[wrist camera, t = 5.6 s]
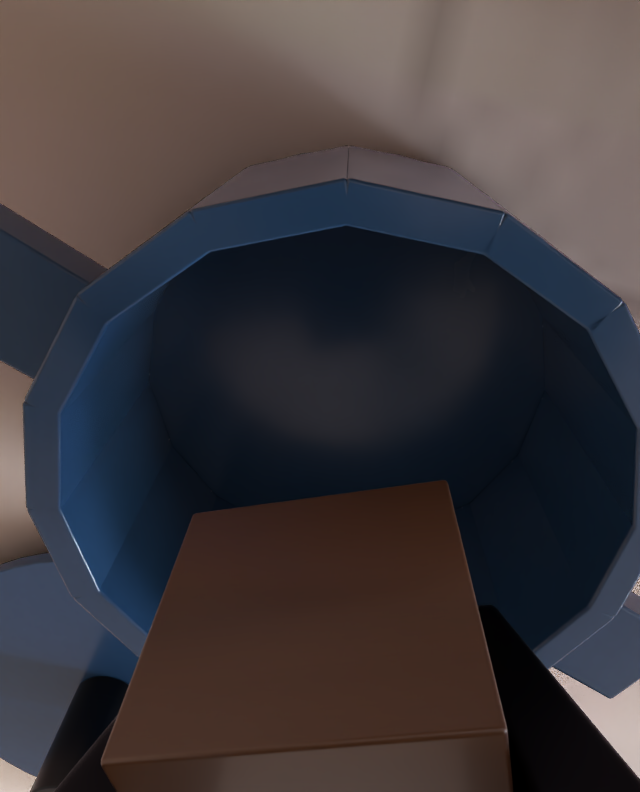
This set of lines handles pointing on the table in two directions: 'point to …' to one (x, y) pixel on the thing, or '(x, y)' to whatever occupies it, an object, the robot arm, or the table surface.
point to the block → (316, 656)
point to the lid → (53, 673)
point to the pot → (337, 390)
